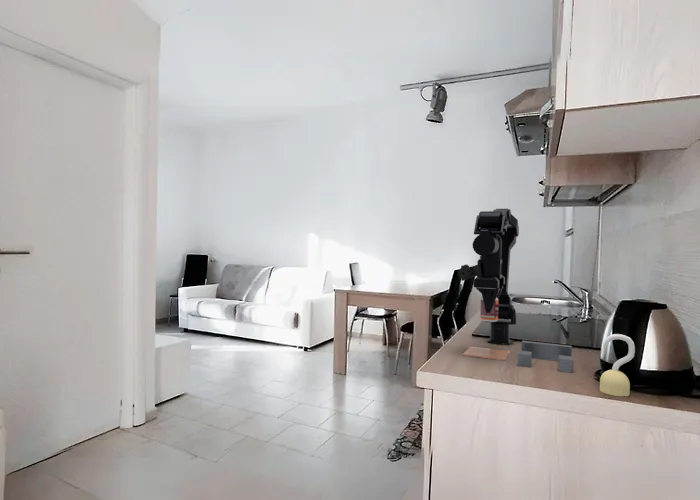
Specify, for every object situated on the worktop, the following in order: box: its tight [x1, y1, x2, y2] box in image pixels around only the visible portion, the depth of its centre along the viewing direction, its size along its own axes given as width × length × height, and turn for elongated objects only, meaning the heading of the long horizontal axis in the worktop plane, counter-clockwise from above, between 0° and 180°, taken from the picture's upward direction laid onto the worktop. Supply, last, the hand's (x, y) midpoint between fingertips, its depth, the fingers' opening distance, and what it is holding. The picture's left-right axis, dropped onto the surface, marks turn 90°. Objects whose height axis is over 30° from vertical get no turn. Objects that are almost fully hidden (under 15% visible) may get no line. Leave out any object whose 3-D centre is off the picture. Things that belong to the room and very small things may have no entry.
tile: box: [462, 345, 511, 362], centre depth 120 cm, size 11×11×1 cm
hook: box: [599, 333, 636, 397], centre depth 88 cm, size 6×5×12 cm
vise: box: [517, 340, 574, 373], centre depth 113 cm, size 17×12×4 cm
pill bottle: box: [479, 296, 498, 323], centre depth 120 cm, size 5×5×8 cm
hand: (489, 311), depth 120 cm, fingers closed on pill bottle, 5 cm apart
